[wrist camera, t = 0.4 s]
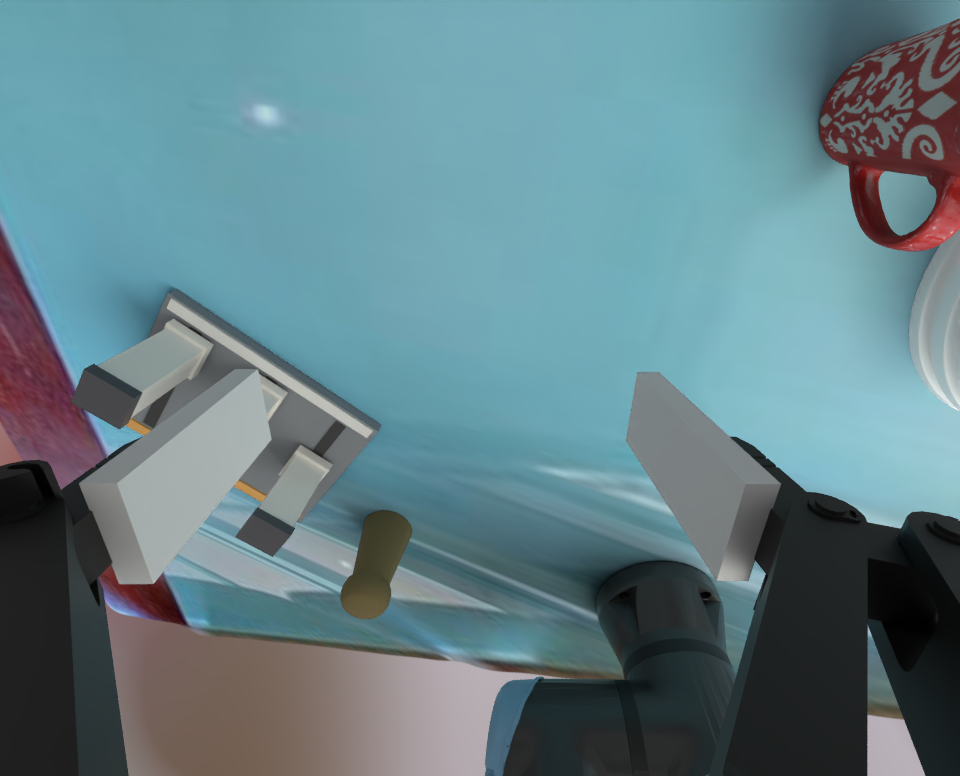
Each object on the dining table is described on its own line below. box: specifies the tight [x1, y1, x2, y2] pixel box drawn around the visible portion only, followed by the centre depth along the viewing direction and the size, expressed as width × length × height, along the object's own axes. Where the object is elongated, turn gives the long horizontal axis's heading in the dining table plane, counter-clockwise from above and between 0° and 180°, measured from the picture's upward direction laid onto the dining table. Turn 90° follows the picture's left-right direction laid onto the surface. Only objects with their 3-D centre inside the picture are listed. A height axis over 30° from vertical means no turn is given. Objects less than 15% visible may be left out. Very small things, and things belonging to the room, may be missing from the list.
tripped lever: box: [236, 445, 333, 557], centre depth 45 cm, size 4×4×10 cm
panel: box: [126, 289, 381, 523], centre depth 48 cm, size 18×23×1 cm
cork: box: [340, 511, 412, 619], centre depth 50 cm, size 6×6×11 cm
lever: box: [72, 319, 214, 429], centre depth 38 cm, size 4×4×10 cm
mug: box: [820, 19, 960, 251], centre depth 26 cm, size 13×9×14 cm
